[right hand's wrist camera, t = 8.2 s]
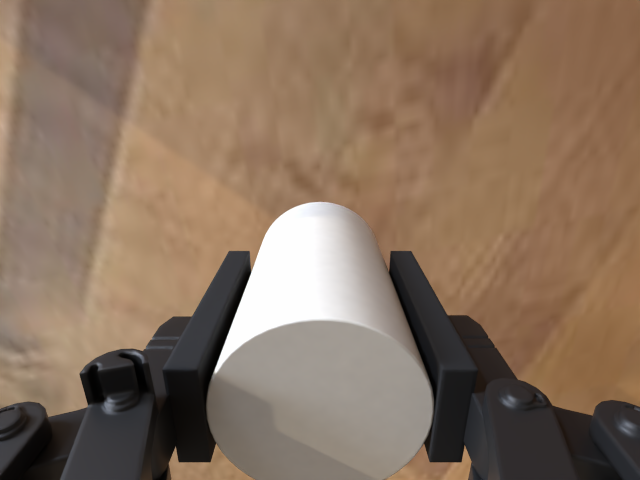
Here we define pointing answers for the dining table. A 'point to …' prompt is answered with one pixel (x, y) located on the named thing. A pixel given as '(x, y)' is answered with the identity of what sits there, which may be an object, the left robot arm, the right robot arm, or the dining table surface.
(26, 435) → the right robot arm
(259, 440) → the cylinder
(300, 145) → the dining table surface
